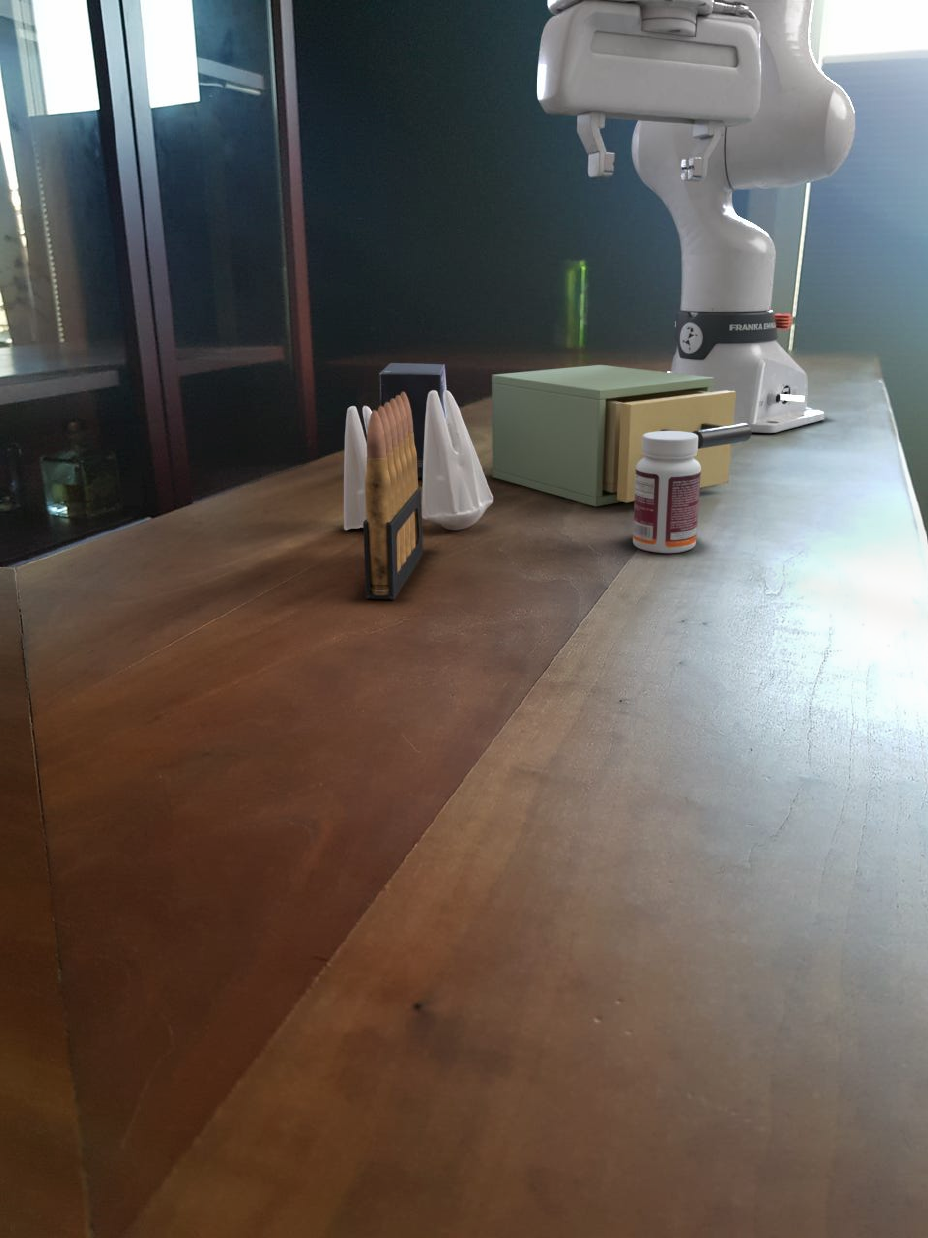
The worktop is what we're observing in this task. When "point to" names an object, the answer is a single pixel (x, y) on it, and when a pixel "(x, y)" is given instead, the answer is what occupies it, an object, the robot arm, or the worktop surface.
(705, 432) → the drawer
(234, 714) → the worktop surface
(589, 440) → the cabinet
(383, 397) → the small box
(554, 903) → the worktop surface
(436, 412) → the shaker set
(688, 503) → the pill bottle
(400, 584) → the ammunition clip
